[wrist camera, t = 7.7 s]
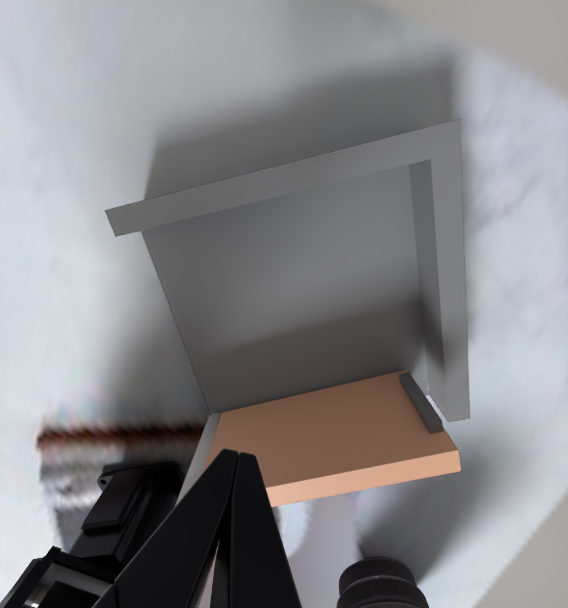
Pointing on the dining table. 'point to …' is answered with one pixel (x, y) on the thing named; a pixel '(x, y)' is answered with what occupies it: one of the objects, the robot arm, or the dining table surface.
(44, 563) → the robot arm
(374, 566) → the camera lens
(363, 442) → the door
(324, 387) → the housing
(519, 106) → the dining table surface
